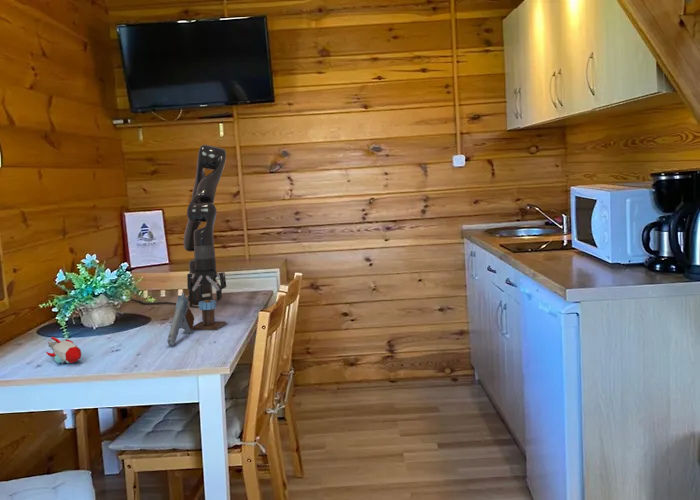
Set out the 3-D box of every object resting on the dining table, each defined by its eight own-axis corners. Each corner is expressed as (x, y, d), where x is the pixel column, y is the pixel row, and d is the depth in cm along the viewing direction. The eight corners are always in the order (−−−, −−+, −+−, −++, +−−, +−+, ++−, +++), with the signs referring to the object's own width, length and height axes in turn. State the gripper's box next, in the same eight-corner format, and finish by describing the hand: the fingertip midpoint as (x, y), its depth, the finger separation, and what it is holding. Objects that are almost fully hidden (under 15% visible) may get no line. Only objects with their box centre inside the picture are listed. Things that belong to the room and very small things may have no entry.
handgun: (196, 317, 246) (188, 286, 237) (183, 368, 227) (173, 337, 217) (186, 317, 246) (178, 287, 237) (173, 368, 227) (163, 337, 217)
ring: (196, 310, 245) (195, 303, 245) (203, 306, 251) (202, 300, 251) (212, 309, 244) (212, 303, 244) (219, 306, 250) (218, 300, 250)
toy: (41, 356, 213) (40, 335, 213) (65, 353, 218) (64, 332, 217) (61, 368, 197) (60, 345, 197) (86, 364, 202) (85, 342, 201)
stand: (190, 329, 244) (189, 302, 243) (201, 323, 254) (199, 298, 253) (216, 329, 243) (215, 302, 242) (226, 323, 252) (225, 297, 251)
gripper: (226, 255, 248) (229, 298, 250) (190, 256, 251) (193, 299, 252) (219, 257, 241) (222, 302, 242) (182, 258, 243) (185, 302, 245)
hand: (207, 300), depth 247 cm, fingers open, 8 cm apart
